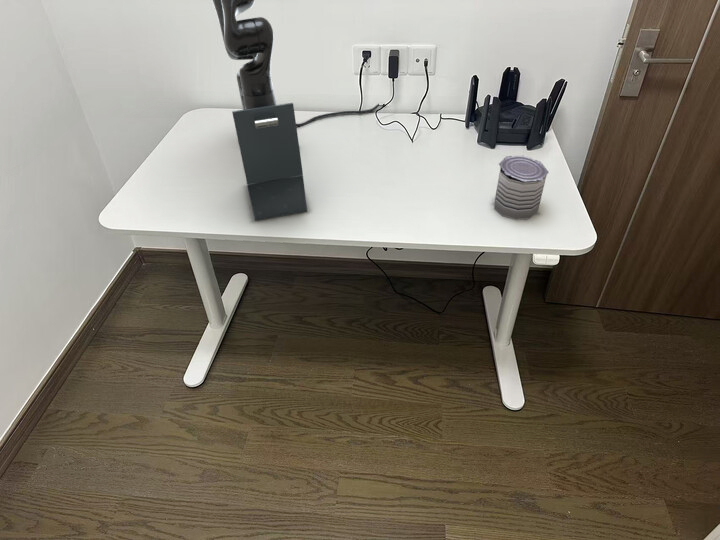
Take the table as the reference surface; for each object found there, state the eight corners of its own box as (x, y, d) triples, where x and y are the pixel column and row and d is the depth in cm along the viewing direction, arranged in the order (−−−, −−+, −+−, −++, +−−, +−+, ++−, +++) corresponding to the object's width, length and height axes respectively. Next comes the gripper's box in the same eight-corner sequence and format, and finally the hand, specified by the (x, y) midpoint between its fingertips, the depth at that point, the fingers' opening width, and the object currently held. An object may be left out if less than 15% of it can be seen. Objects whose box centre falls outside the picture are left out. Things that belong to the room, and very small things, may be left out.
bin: (248, 186, 146) (240, 151, 138) (296, 178, 148) (291, 143, 141) (254, 221, 134) (247, 185, 126) (307, 211, 136) (302, 175, 129)
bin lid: (232, 111, 116) (233, 119, 112) (292, 102, 118) (296, 109, 114) (246, 182, 126) (248, 192, 122) (302, 173, 129) (306, 182, 124)
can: (501, 190, 140) (508, 150, 132) (544, 201, 136) (554, 160, 128) (486, 212, 133) (493, 171, 125) (530, 225, 129) (540, 183, 121)
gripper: (293, 111, 123) (301, 174, 135) (253, 95, 130) (264, 156, 142) (269, 123, 119) (280, 186, 131) (229, 106, 126) (242, 168, 138)
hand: (271, 170), depth 136 cm, fingers closed on handle, 4 cm apart
